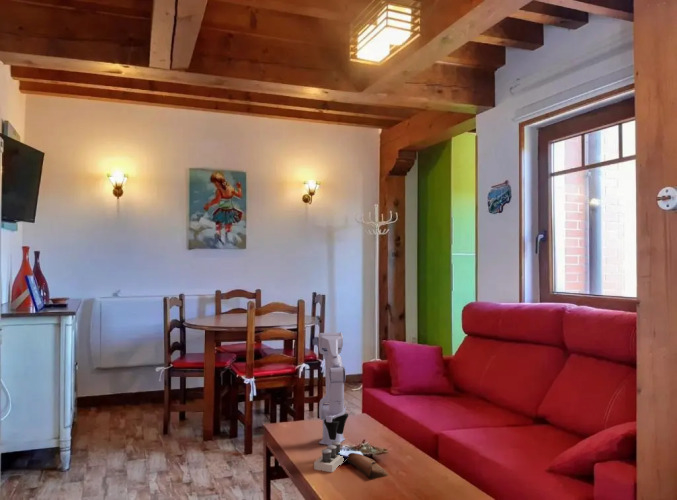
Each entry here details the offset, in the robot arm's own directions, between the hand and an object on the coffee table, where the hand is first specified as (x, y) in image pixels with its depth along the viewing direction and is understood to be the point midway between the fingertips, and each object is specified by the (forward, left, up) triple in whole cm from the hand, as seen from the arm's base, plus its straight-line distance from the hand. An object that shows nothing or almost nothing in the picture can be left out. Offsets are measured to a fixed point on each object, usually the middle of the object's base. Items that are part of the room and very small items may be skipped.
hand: (336, 436), depth 202 cm
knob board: (+5, 0, -8) cm, 10 cm away
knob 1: (+9, 0, -6) cm, 11 cm away
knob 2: (0, 0, -6) cm, 6 cm away
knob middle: (+5, 0, -6) cm, 7 cm away
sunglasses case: (+4, +14, -9) cm, 17 cm away
